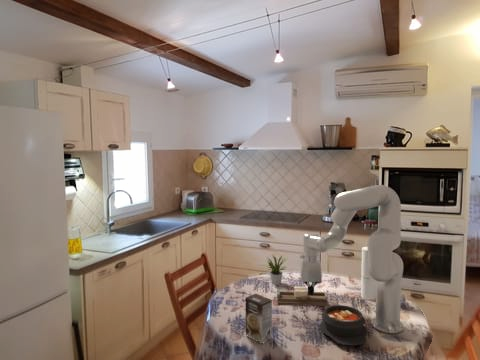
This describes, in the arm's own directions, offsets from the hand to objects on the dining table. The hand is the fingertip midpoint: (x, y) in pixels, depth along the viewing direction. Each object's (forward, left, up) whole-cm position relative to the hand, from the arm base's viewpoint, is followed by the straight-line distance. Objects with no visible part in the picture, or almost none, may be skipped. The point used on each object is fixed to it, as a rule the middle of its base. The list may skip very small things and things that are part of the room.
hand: (310, 293), depth 174 cm
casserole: (-31, -10, -3) cm, 32 cm away
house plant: (+21, +16, -3) cm, 26 cm away
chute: (0, +5, -3) cm, 6 cm away
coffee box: (-36, +25, -3) cm, 44 cm away
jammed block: (0, +5, -2) cm, 5 cm away
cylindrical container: (+5, -29, -3) cm, 30 cm away
